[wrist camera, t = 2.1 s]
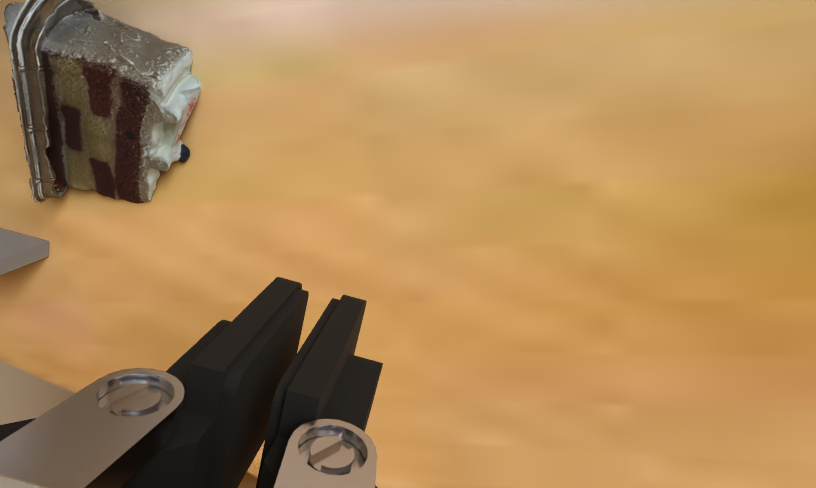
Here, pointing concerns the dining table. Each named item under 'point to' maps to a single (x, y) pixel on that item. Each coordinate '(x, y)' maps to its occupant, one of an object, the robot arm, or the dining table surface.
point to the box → (20, 250)
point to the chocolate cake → (96, 99)
